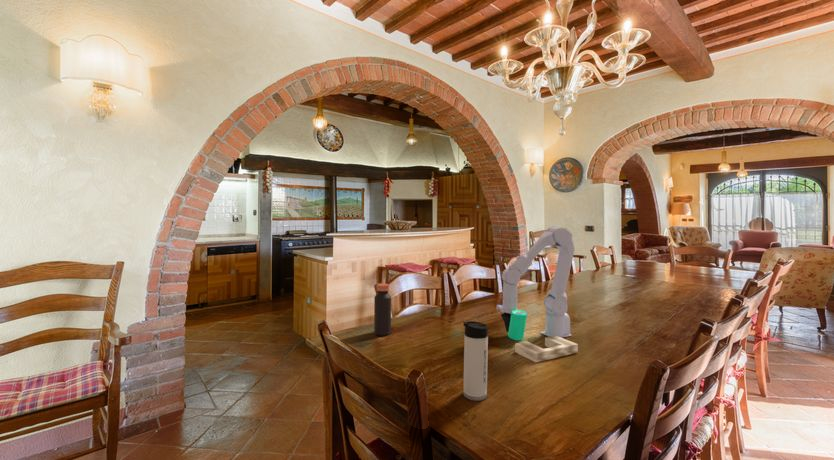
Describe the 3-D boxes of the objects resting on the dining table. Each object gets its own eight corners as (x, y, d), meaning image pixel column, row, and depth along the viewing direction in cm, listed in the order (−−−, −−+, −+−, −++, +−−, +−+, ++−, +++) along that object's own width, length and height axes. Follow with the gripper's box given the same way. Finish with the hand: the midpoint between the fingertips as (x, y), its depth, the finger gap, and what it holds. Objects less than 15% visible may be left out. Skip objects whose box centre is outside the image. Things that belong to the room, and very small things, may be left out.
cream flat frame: (555, 343, 137) (555, 335, 137) (577, 352, 128) (577, 344, 128) (514, 351, 128) (515, 343, 128) (535, 362, 119) (535, 353, 119)
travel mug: (460, 389, 100) (461, 319, 99) (483, 389, 101) (484, 319, 100) (464, 401, 94) (466, 326, 93) (489, 400, 94) (491, 326, 93)
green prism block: (523, 341, 139) (528, 312, 136) (508, 338, 140) (512, 310, 137) (522, 334, 144) (527, 306, 142) (507, 332, 146) (511, 304, 143)
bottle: (386, 337, 142) (387, 287, 141) (371, 334, 144) (371, 285, 143) (393, 331, 148) (393, 283, 147) (378, 329, 150) (378, 282, 149)
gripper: (490, 295, 149) (490, 327, 150) (514, 303, 136) (513, 338, 137) (504, 294, 153) (503, 325, 153) (528, 301, 140) (527, 336, 140)
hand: (509, 331), depth 145 cm, fingers closed
